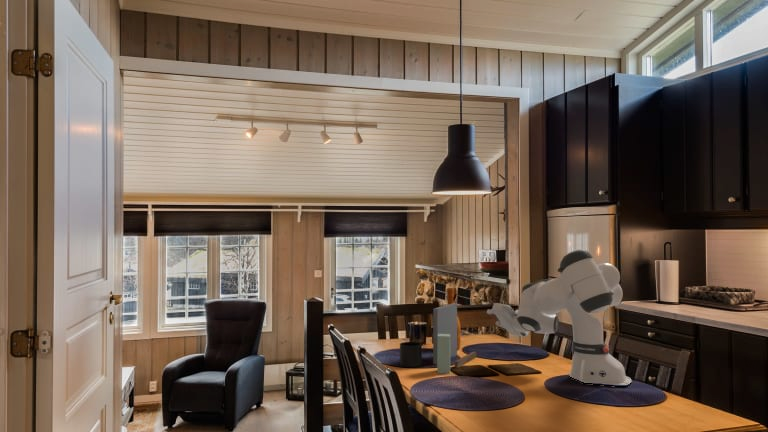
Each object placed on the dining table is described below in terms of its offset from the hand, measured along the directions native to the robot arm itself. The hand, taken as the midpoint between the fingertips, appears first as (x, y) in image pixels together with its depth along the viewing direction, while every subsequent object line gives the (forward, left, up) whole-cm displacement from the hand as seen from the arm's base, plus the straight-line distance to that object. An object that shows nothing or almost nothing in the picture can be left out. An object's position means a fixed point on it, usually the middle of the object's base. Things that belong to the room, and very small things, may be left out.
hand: (492, 317), depth 234 cm
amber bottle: (+27, -17, -20) cm, 38 cm away
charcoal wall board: (+15, +5, -20) cm, 25 cm away
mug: (+30, +21, -20) cm, 42 cm away
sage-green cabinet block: (+12, +25, -20) cm, 34 cm away
